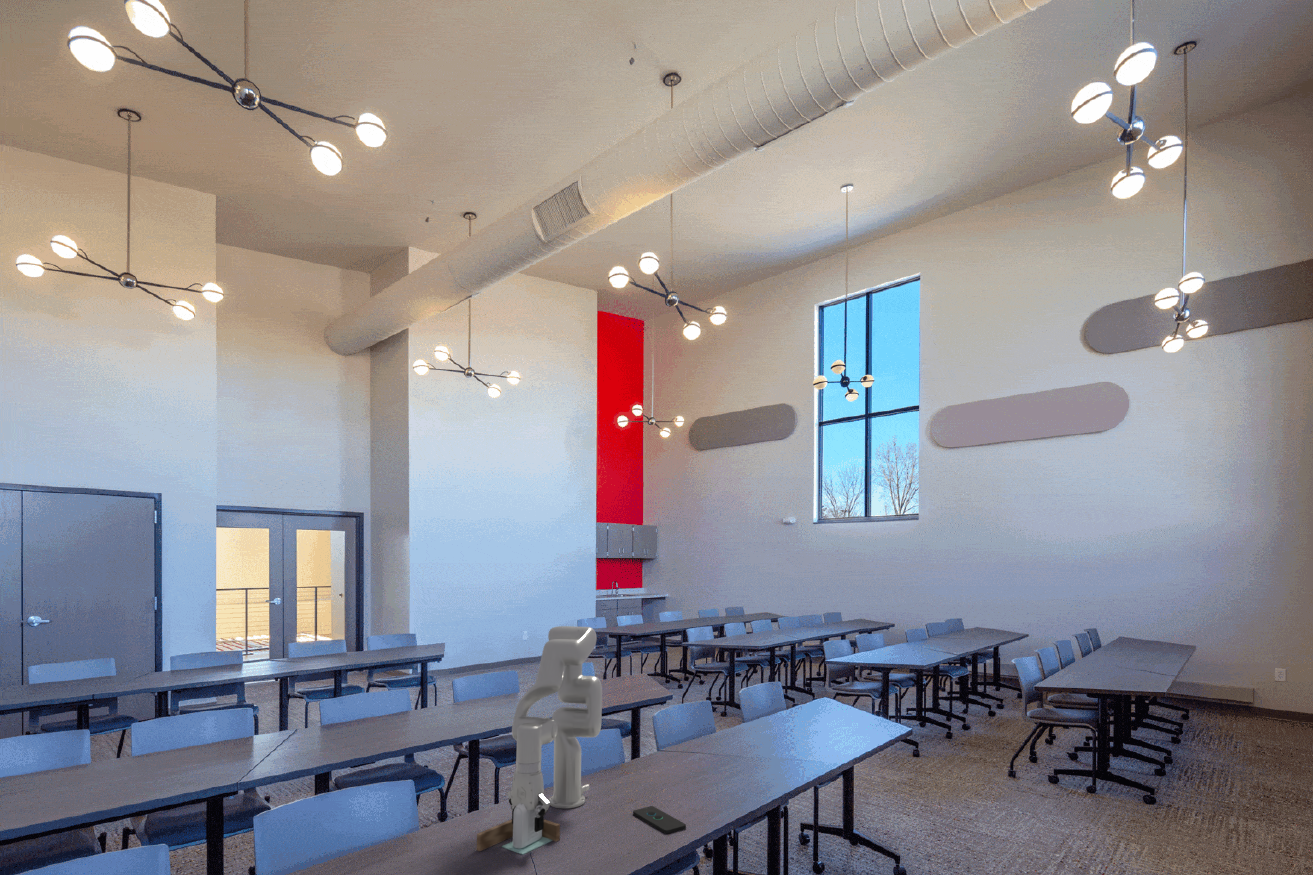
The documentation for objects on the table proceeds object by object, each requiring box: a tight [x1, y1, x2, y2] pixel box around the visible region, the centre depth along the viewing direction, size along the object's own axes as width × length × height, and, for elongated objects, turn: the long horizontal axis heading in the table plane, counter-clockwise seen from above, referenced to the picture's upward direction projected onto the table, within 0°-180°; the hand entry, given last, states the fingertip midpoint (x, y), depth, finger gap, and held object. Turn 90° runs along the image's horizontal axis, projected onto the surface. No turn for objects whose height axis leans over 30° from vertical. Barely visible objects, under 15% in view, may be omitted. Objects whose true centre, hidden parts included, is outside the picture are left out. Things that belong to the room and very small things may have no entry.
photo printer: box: [512, 803, 542, 849], centre depth 215 cm, size 10×4×12 cm, turn 149°
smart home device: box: [632, 805, 687, 835], centre depth 231 cm, size 8×2×20 cm
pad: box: [501, 837, 553, 856], centre depth 214 cm, size 12×9×1 cm
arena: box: [476, 818, 561, 852], centre depth 214 cm, size 20×15×4 cm
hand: (527, 826), depth 215 cm, fingers open, 9 cm apart
